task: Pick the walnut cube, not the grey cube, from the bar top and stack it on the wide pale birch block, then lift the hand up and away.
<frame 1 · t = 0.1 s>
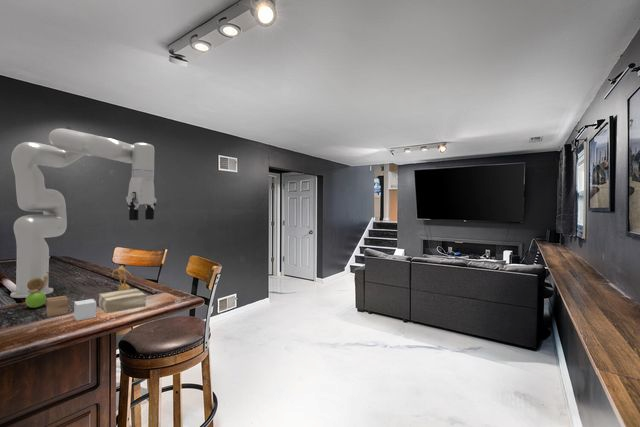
hand: (141, 219, 122), 31 cm above the table, tool pointing down, fingers open, 9 cm apart
birch block: (122, 306, 115), on the table
grey cube: (85, 317, 102), on the table
walnut cube: (56, 313, 105), on the table
snail figurine: (37, 307, 110), on the table
figurine: (122, 294, 129), on the table
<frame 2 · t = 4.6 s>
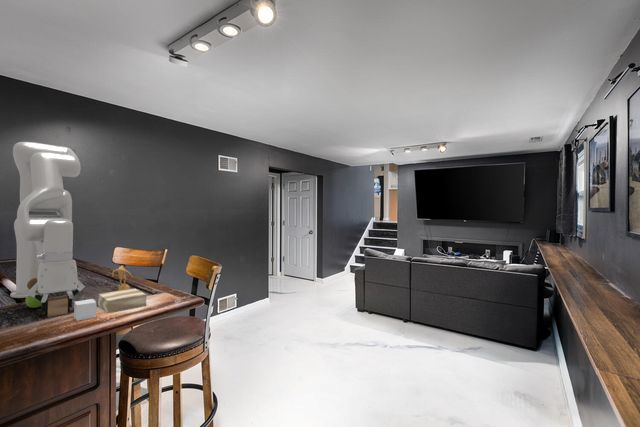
hand: (57, 311, 105), 1 cm above the table, tool pointing down, fingers closed on walnut cube, 5 cm apart
walnut cube: (56, 313, 105), on the table, touching gripper
everything else where it was.
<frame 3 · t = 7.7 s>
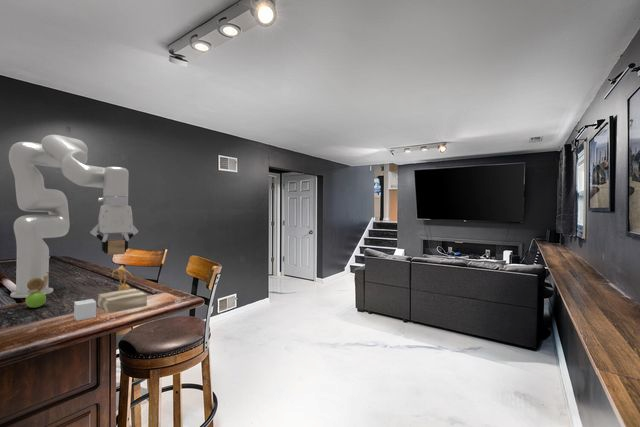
hand: (115, 251, 113), 20 cm above the table, tool pointing down, fingers closed on walnut cube, 5 cm apart
walnut cube: (114, 253, 113), point 19 cm above the table, touching gripper
everything else where it was.
when the fingers open (6 cm above the table, at t = 11.3 s): walnut cube drops 1 cm, resting on birch block.
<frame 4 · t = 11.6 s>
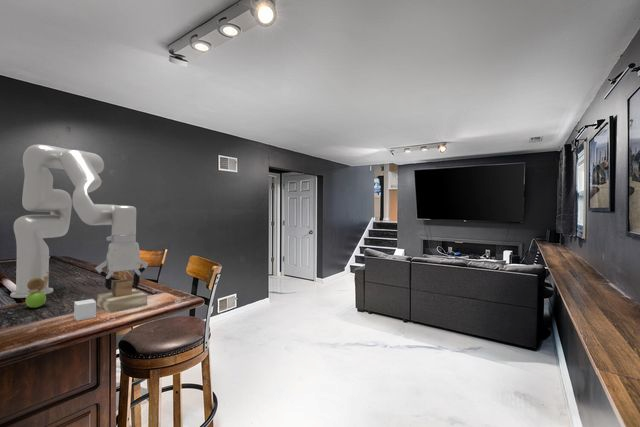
hand: (122, 287, 115), 7 cm above the table, tool pointing down, fingers open, 8 cm apart
birch block: (122, 306, 115), on the table, touching walnut cube
walnut cube: (122, 294, 115), point 4 cm above the table, touching birch block
everything else where it was.
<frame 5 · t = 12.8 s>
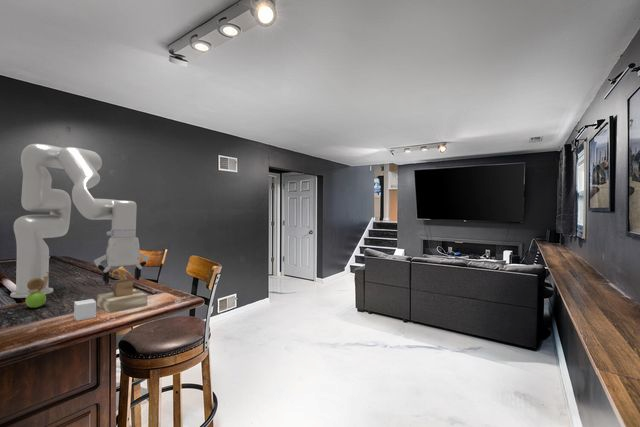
hand: (122, 281, 115), 9 cm above the table, tool pointing down, fingers open, 9 cm apart
nothing on the table moved.
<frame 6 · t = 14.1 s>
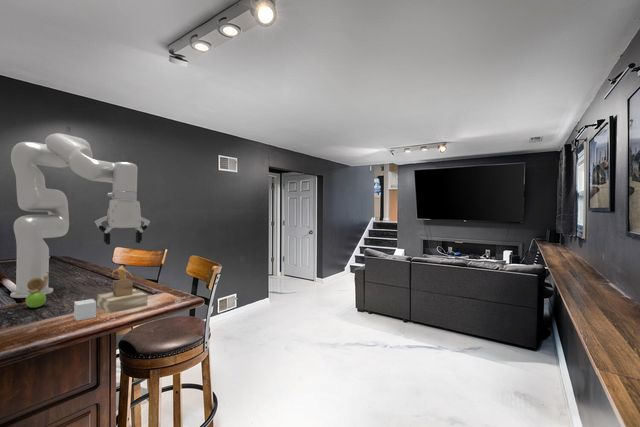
hand: (123, 243, 115), 23 cm above the table, tool pointing down, fingers open, 9 cm apart
nothing on the table moved.
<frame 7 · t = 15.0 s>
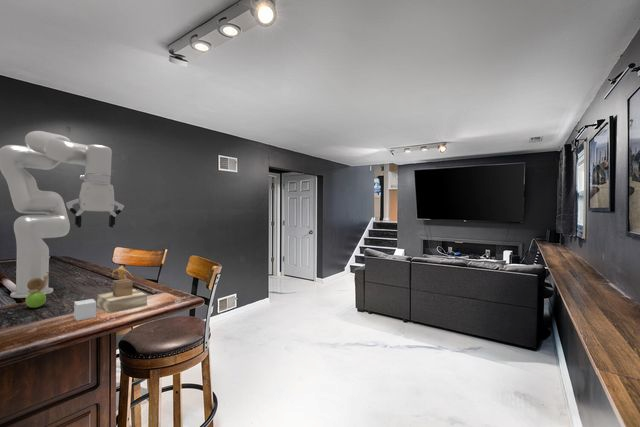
hand: (95, 227, 114), 28 cm above the table, tool pointing down, fingers open, 9 cm apart
nothing on the table moved.
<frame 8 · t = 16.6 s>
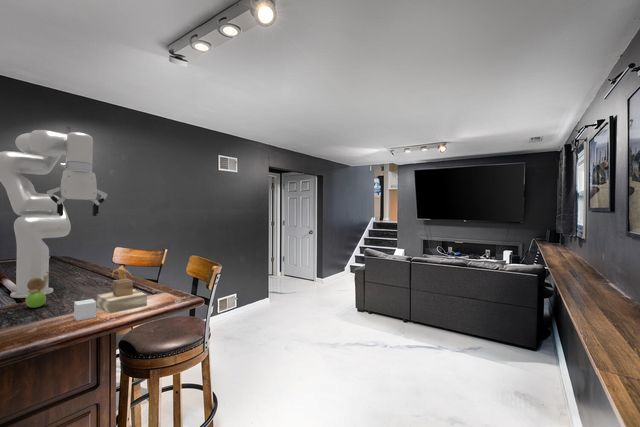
hand: (78, 215, 113), 32 cm above the table, tool pointing down, fingers open, 9 cm apart
birch block: (121, 306, 115), on the table
walnut cube: (122, 294, 115), point 4 cm above the table
everything else where it was.
at the end: walnut cube inside the target area on the birch block (0.4 cm from its centre), point 4.5 cm above the birch block's base; walnut cube tilted 0°; grey cube moved 0.1 cm from its start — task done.
